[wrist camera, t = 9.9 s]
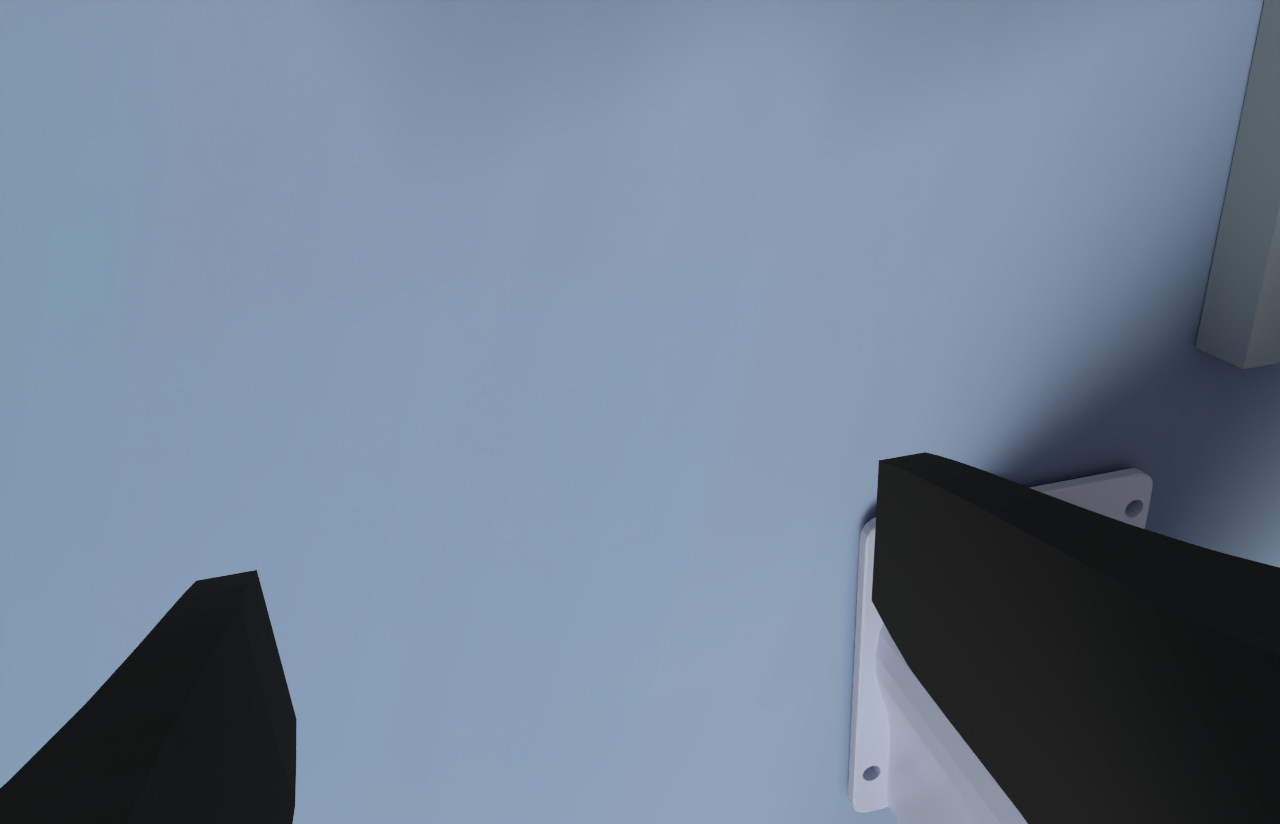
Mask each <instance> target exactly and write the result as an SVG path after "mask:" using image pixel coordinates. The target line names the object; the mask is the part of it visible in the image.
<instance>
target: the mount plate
mask: <svg viewBox="0 0 1280 824" xmlns="http://www.w3.org/2000/svg"><path fill="white" fill-rule="evenodd" d="M1195 348H1197V349H1199V350H1201V351H1203V352H1206V353H1208V354H1210V355H1212V356H1214V357H1217V358H1219V359H1221V360H1223V361H1226V362H1228V363H1230V364H1232V365H1234V366H1237V367H1239V368H1241V369H1249V368H1255V367H1260V366H1266V365H1272V364H1278V363H1280V0H1264V5H1263V10H1262V15H1261V20H1260V25H1259V30H1258V35H1257V40H1256V45H1255V50H1254V55H1253V60H1252V65H1251V70H1250V75H1249V80H1248V85H1247V90H1246V95H1245V100H1244V105H1243V110H1242V115H1241V120H1240V125H1239V130H1238V135H1237V141H1236V146H1235V151H1234V156H1233V161H1232V166H1231V171H1230V176H1229V181H1228V186H1227V191H1226V196H1225V201H1224V206H1223V211H1222V216H1221V221H1220V226H1219V231H1218V236H1217V241H1216V246H1215V251H1214V256H1213V261H1212V266H1211V271H1210V276H1209V281H1208V286H1207V291H1206V296H1205V301H1204V306H1203V311H1202V316H1201V321H1200V326H1199V332H1198V337H1197V342H1196V347H1195Z"/></svg>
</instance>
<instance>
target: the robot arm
mask: <svg viewBox="0 0 1280 824" xmlns="http://www.w3.org/2000/svg"><path fill="white" fill-rule="evenodd" d="M1152 489H1153V481H1152V479H1151V477H1150V476H1149V475H1147V474H1145V473H1144V472H1142V471H1141V470H1139V469H1137V468H1130V469H1125V470H1120V471H1115V472H1109V473H1104V474H1099V475H1093V476H1088V477H1083V478H1077V479H1072V480H1067V481H1061V482H1056V483H1051V484H1046V485H1040V486H1035V487H1030V488H1029V487H1026V486H1023V485H1021V484H1018V483H1015V482H1013V481H1010V480H1007V479H1005V478H1002V477H999V476H997V475H994V474H991V473H989V472H986V471H983V470H980V469H977V468H975V467H972V466H969V465H966V464H963V463H960V462H957V461H954V460H951V459H948V458H944V457H941V456H937V455H933V454H929V453H919V454H914V455H908V456H902V457H897V458H891V459H885V460H880V461H879V472H878V490H877V509H876V517H875V518H873V519H871V520H870V521H869V522H867V523H866V525H865V526H864V528H863V529H862V531H861V535H860V549H859V571H858V592H857V613H856V635H855V656H854V677H853V699H852V720H851V741H850V763H849V784H848V797H849V801H850V802H851V804H852V806H853V807H854V809H855V810H856V811H858V812H862V813H865V812H872V811H876V810H880V809H884V808H888V807H889V809H890V810H891V812H892V814H893V815H894V817H895V818H896V820H897V822H898V823H899V824H1280V568H1279V567H1275V566H1271V565H1267V564H1263V563H1259V562H1255V561H1251V560H1247V559H1243V558H1240V557H1236V556H1232V555H1228V554H1224V553H1220V552H1217V551H1213V550H1210V549H1206V548H1203V547H1200V546H1196V545H1193V544H1189V543H1186V542H1183V541H1180V540H1177V539H1174V538H1171V537H1167V536H1164V535H1161V534H1158V533H1155V532H1152V531H1149V530H1146V529H1145V526H1146V520H1147V515H1148V510H1149V505H1150V499H1151V494H1152ZM1130 502H1131V504H1130V505H1129V506H1128V507H1127V505H1128V504H1129V503H1130ZM1126 507H1127V508H1126ZM869 767H870V768H869ZM867 768H868V769H867ZM295 782H296V716H295V713H294V709H293V705H292V701H291V698H290V694H289V690H288V686H287V683H286V679H285V675H284V671H283V668H282V664H281V660H280V656H279V653H278V649H277V645H276V641H275V638H274V634H273V630H272V626H271V623H270V619H269V615H268V611H267V608H266V604H265V600H264V596H263V592H262V589H261V585H260V581H259V577H258V574H257V570H255V571H250V572H244V573H238V574H233V575H227V576H221V577H216V578H210V579H204V580H199V581H196V582H195V583H194V584H193V585H192V586H191V587H190V588H189V589H188V590H187V591H186V592H185V593H184V594H183V595H182V597H181V598H180V599H179V600H178V601H177V602H176V603H175V604H174V606H173V607H172V608H171V609H170V610H169V611H168V612H167V614H166V615H165V616H164V617H163V618H162V619H161V620H160V622H159V623H158V624H157V625H156V626H155V627H154V628H153V630H152V631H151V632H150V633H149V634H148V635H147V636H146V638H145V639H144V640H143V641H142V642H141V643H140V644H139V646H138V647H137V648H136V649H135V650H134V651H133V652H132V653H131V655H130V656H129V657H128V658H127V659H126V660H125V661H124V662H123V663H122V664H121V666H120V667H119V668H118V669H117V670H116V671H115V672H114V673H113V674H112V675H111V677H110V678H109V679H108V680H107V681H106V682H105V683H104V684H103V685H102V687H101V688H100V689H99V690H98V691H97V692H96V693H95V694H94V695H93V696H92V698H91V699H90V700H89V701H88V702H87V703H86V704H85V705H84V706H83V707H82V708H81V709H80V710H79V711H78V712H77V713H76V714H75V715H74V716H73V717H72V718H71V719H70V720H69V721H68V722H67V723H66V724H65V725H64V726H63V727H62V728H61V729H60V730H59V731H58V732H57V733H56V734H55V735H54V736H53V737H52V738H51V739H50V740H49V741H48V742H47V743H46V744H45V745H44V746H43V747H42V748H41V749H40V750H39V751H38V752H37V753H36V754H35V755H34V756H33V757H32V758H31V759H30V760H29V761H28V762H27V763H26V764H25V765H24V766H23V767H22V768H21V769H20V770H19V771H18V772H17V773H16V774H15V775H14V776H13V777H12V778H11V779H10V780H9V781H8V782H7V783H6V784H5V785H4V786H3V787H2V788H0V824H292V822H293V815H294V808H295Z"/></svg>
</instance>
